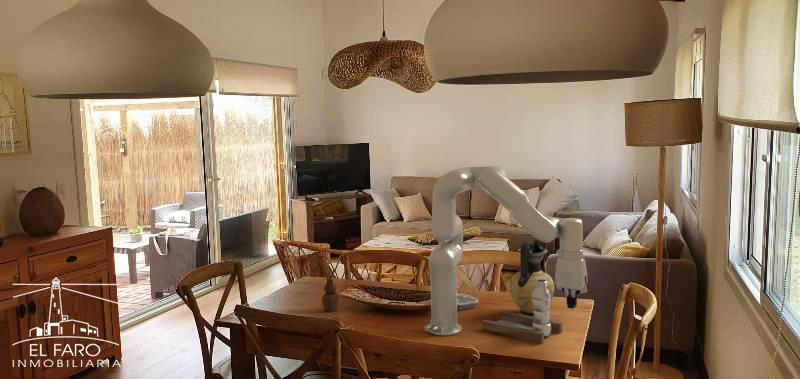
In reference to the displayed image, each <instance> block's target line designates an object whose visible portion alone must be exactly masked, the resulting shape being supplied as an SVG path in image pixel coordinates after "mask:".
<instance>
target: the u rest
mask: <svg viewBox="0 0 800 379" xmlns="http://www.w3.org/2000/svg"><path fill="white" fill-rule="evenodd" d="M533 318H534V317H531V316H527V315H522V314H519V313H517V312H511V311H506V310H504V311H501V319H499V320H497V321H492V320H489V319H484V320H481V330H482V332H488V333H491V334H492V333H493V334H495V335H501V336H505V337H508V338H513V339H518V340H521V339H522V341H526V342H529V343H534V344H540V345H541V344H544V343H545V337H544V333H543V332H539V331H534V330H532V325H533ZM550 324H551V333H554V334H559V335H560V334H561V333H563V322H561V321H555V320H552V319H550Z"/></svg>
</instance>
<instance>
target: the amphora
mask: <svg viewBox="0 0 800 379" xmlns="http://www.w3.org/2000/svg"><path fill="white" fill-rule="evenodd" d="M548 252H549V250H548V249H547V243H545V242H541V241H539V240H538V239H536V238H535V239H534V241H533V242H531V241H524V242H522V243H521V246H520V248H518V249H517V253H519V254H520V255H519V256H520V257H519V258H520V259H519V260H520V271H517V272H516V273H515V274H514V275H513V276H512V277H511V279H510V281H509V290H510V295H511V298H512V300H513V302H514V304H515V305H516V306H517V307H518V308H519V310H520V311H519V312H518V314H522V315H527V316H531V317H534V308H533V300H532V293H533V291H534V290H535V289H536V287H537V286H536V280H540V279H542V280H547V286H546V288H547V289H548V290H549V292H550V294H551V300H550V303H551V302H552V300H553V297H554V294H555V282H554V280H553V278H552V277H551V276H550V275H549V274H548V273H547V272H546V269H545V264H546V254H548Z"/></svg>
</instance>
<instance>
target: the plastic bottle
mask: <svg viewBox="0 0 800 379" xmlns="http://www.w3.org/2000/svg"><path fill="white" fill-rule="evenodd" d="M536 286H537V287H536V289H535V290H534V291H533V293H532V300H533V308H534V318H533V325H532V330H534V331H539V332H543V333H544V338H545V337H549V336H550V335H551V333H552V332H551V324H550V320H551V318H550V306H551V302H550V300H551V301H552V299H551V294H550V292H549V290H548V289H547V288H546V286H547V280H542V279H540V280H536Z"/></svg>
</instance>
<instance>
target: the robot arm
mask: <svg viewBox="0 0 800 379" xmlns="http://www.w3.org/2000/svg"><path fill="white" fill-rule="evenodd" d="M474 190H475V191H479V190H480V191H481V190H483V191H484V192H486V193H487V195H489V196H490V197H492V199H494V200H495V201H496V202H497V203H498V204H499V205H501V206H502V207H503V208H504V209H505V210H507V212H509V214H510V215H511V217H513V218H514V219H515V220H516V222H517V223H518V224H519V225H520V226H521V227H522V228H523V229H524V230H525V231H527V232H528V233H529V234H530V235H531V236H533V237H534V238H535V239H538V240H539V241H541V242H545V243H546V244H547V243H551V242H553V241H554V240H555V239H556V238H558V239H559V249H556V254H557V255H559V257H557V260H556V264H555V274H554V275H555V276H554V286H556V289H557V290H560V291H562V292H563V293H564V295H565V297H566V306H567V309H571V310H573V309H574V308H576V307H577V305H578V296H579V295H580V294H585V293H587V292H588V289H587V286H588V271H587V264H586V259H585V258H584V248H583V247H584V242H583V240H584V238H583V236H584V231H583V228H584V227H583V221H582V219H580V218H577V217H566V218H562V217H555V216H544V215H543V214H542V213H541V212H539V211H538V210H537V209H536V208H535V207H534V205H533V204H532V203H531V201H530V200H529V197H528V196H527V194H526V192H524V190H523V189H521V188H520V187H519V186H518V185H516V184H515V183H514V182H513V181H511V179H509V178H508V177H507V174H506V171H505V170H504V169H503V168H502V167H500V166H498V165H488V166H468V167H467V166H465V167H459V168H456V169H453V170H450V171H448V172H446V173H444V174H443V175H441V176H440V177H439V178H437V180H436V182H435V183H434V185H433V188H432V199H431V200H432V201H431V202H432V203H431V204H432V206H431V233H432V236H433V238H434V239H435V241H437V242H438V246H435V247H434V248H433V250H432V251H431V252H430V254H429V257H428V268H429V276H430V279H429V280H430V310H431V312H430V313H431V315H430V317H431V318H430V320H429V323H428V324H427V325H424V327H423V329H424V331H426V332H428V333H430V334H432V335H436V336H452V335H456V334H457V335H458V334H459V333H461V332H462V326H461V325H460V324H459V323H458V310H457V293H458V287H457V286H458V283H457V282H458V281H457V279H458V278H457V271H456V266H457V265H458V264H459V263H460V262H461V261H462V258H463V254H464V253H463V252H464V250H463V248H464V226H463V222H462V219H461V217H460V216H458V215H457V213H456V210H457V209H456V208H457V205H456V204H457V203H456V202H457V201H456V198H457V197H456V196H457V195H458V194H461V193H464V192H467V191H474Z"/></svg>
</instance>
